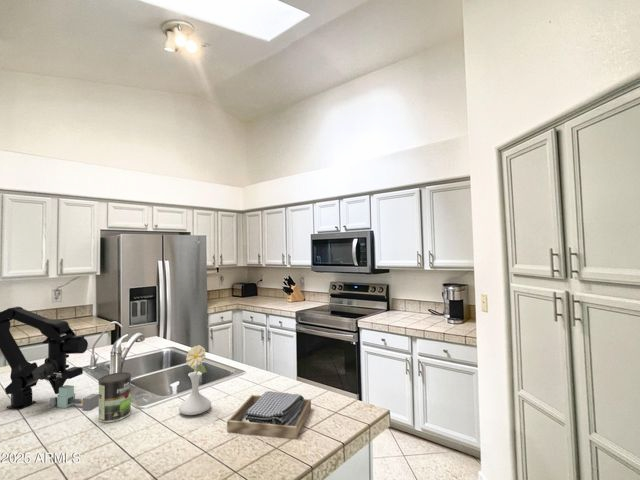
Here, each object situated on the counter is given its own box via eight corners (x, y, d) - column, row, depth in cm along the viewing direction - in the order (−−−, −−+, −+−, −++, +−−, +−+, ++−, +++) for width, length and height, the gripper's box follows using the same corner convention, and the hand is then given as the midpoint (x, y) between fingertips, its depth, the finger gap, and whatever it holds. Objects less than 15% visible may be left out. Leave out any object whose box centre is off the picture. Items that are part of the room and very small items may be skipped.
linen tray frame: (227, 432, 111) (227, 421, 112) (252, 404, 132) (251, 394, 132) (296, 438, 107) (296, 427, 107) (311, 408, 127) (310, 399, 127)
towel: (305, 412, 125) (305, 390, 125) (284, 438, 107) (283, 413, 108) (268, 406, 130) (268, 386, 130) (242, 431, 112) (242, 407, 113)
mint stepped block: (57, 407, 131) (57, 388, 132) (66, 402, 135) (66, 384, 136) (65, 408, 131) (65, 389, 131) (75, 403, 135) (75, 385, 135)
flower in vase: (173, 411, 126) (173, 344, 127) (202, 401, 135) (201, 338, 136) (189, 423, 118) (189, 350, 118) (219, 411, 126) (218, 343, 127)
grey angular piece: (46, 408, 131) (46, 396, 131) (63, 400, 138) (63, 389, 138) (86, 412, 127) (86, 400, 127) (101, 403, 134) (101, 392, 134)
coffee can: (137, 410, 128) (137, 372, 128) (115, 424, 118) (115, 383, 118) (114, 408, 130) (114, 371, 130) (90, 421, 120) (91, 381, 120)
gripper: (16, 359, 128) (16, 401, 128) (57, 361, 125) (57, 404, 124) (45, 350, 139) (45, 389, 139) (83, 352, 136) (83, 391, 135)
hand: (57, 393), depth 134 cm, fingers closed
